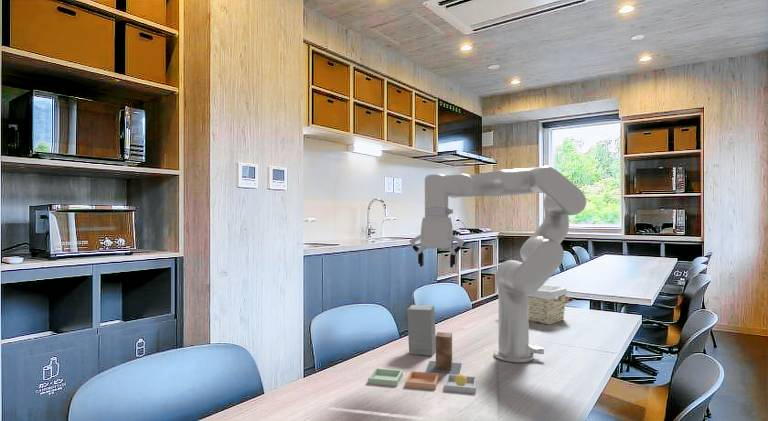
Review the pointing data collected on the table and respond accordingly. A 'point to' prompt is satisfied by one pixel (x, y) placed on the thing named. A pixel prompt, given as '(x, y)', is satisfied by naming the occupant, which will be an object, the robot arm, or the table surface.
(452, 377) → the grey tub
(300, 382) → the table surface
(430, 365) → the rubber mat
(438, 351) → the walnut block
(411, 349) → the skincare box
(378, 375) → the sage tub
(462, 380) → the mustard ball
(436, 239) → the robot arm
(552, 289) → the storage basket
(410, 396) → the table surface
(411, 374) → the terracotta tub
